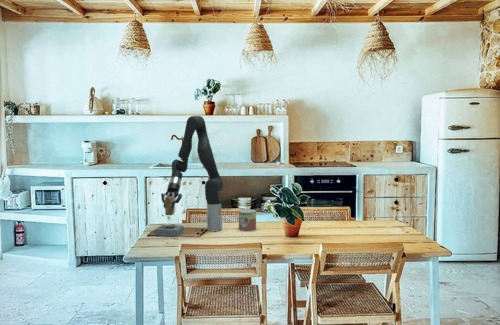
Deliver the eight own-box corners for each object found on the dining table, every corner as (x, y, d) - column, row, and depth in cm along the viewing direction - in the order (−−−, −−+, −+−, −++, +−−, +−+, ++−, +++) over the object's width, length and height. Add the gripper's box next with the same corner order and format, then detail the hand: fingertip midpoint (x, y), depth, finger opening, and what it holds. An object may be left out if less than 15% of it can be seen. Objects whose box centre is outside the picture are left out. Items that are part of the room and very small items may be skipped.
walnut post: (173, 213, 277) (173, 196, 276) (171, 215, 273) (171, 197, 272) (167, 213, 278) (167, 196, 277) (165, 215, 274) (165, 197, 273)
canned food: (236, 230, 284) (235, 212, 283) (242, 226, 294) (242, 208, 293) (252, 231, 280) (252, 213, 279) (258, 228, 290) (258, 209, 289)
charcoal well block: (183, 231, 281) (183, 225, 281) (177, 236, 269) (177, 230, 269) (162, 231, 284) (162, 225, 283) (155, 235, 272) (155, 229, 271)
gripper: (162, 181, 282) (155, 204, 272) (183, 182, 280) (178, 204, 269) (165, 188, 288) (159, 211, 277) (186, 189, 286) (180, 211, 275)
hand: (168, 207), depth 273 cm, fingers closed on walnut post, 4 cm apart
